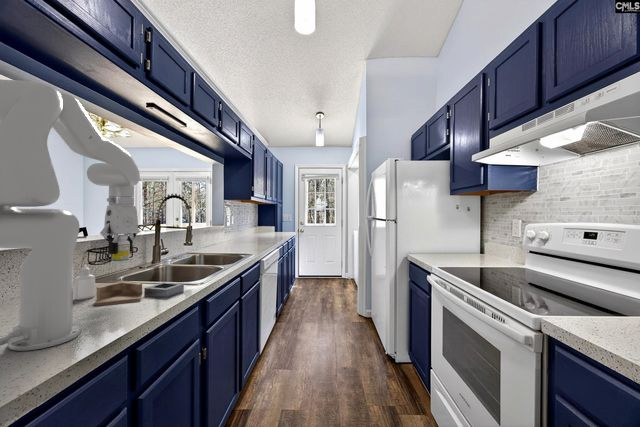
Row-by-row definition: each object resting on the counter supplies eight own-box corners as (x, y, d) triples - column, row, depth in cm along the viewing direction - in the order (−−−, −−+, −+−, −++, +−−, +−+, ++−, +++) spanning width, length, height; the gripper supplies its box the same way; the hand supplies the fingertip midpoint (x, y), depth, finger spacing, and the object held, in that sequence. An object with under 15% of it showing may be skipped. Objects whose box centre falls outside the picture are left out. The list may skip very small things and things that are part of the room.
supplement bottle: (126, 263, 102) (127, 235, 102) (108, 263, 101) (109, 235, 101) (131, 260, 108) (131, 234, 108) (114, 261, 106) (115, 234, 106)
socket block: (166, 297, 107) (166, 289, 107) (144, 296, 109) (144, 288, 109) (183, 291, 116) (183, 283, 116) (162, 289, 118) (163, 282, 118)
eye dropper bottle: (93, 298, 105) (94, 265, 105) (73, 300, 102) (74, 266, 102) (95, 295, 108) (96, 263, 108) (76, 297, 106) (76, 264, 106)
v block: (141, 301, 102) (141, 286, 102) (93, 306, 96) (93, 291, 96) (143, 292, 113) (143, 279, 113) (100, 297, 107) (100, 283, 107)
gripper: (108, 201, 95) (107, 256, 95) (149, 203, 112) (148, 250, 112) (89, 200, 97) (88, 255, 97) (132, 202, 113) (131, 249, 113)
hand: (120, 252), depth 104 cm, fingers closed on supplement bottle, 5 cm apart
